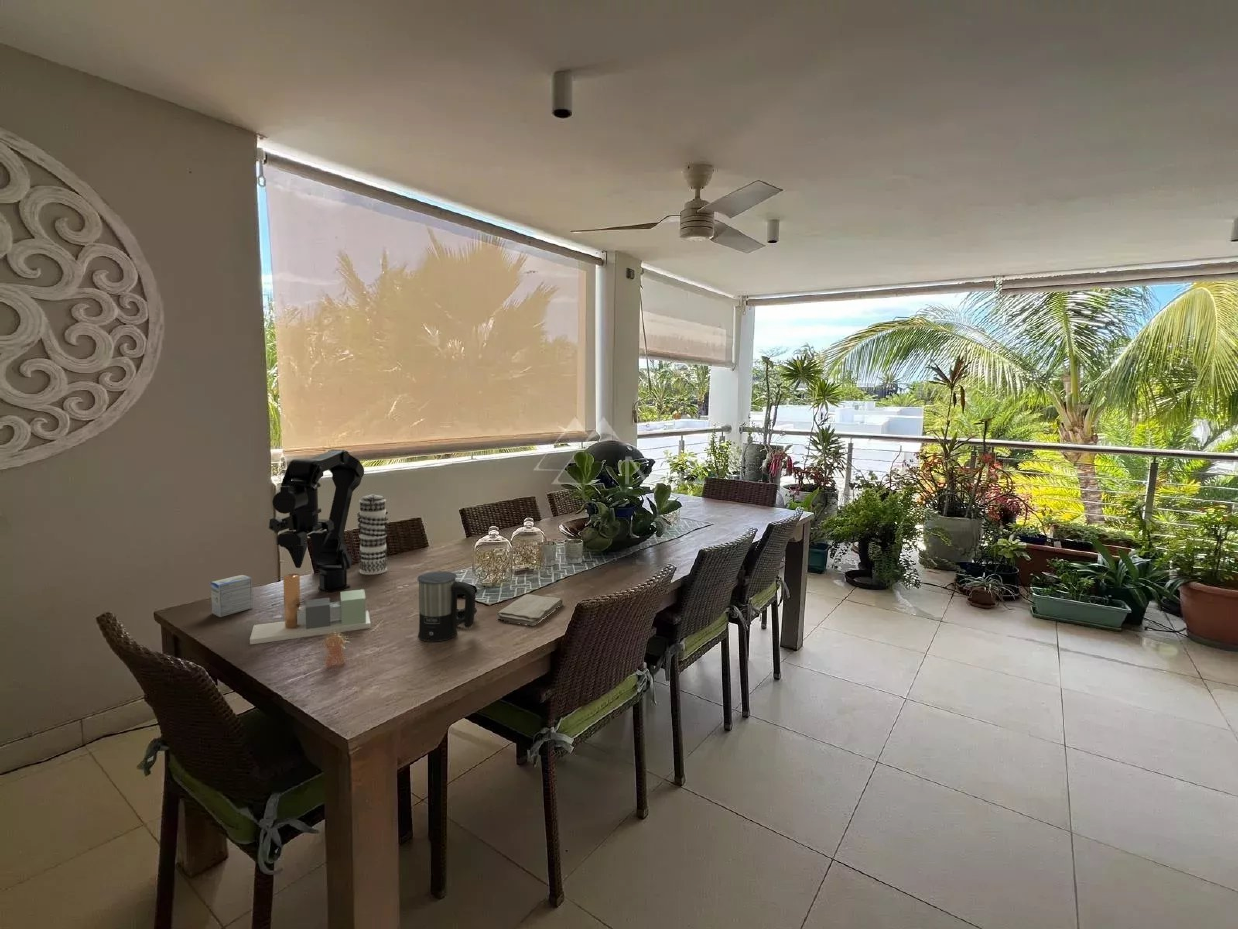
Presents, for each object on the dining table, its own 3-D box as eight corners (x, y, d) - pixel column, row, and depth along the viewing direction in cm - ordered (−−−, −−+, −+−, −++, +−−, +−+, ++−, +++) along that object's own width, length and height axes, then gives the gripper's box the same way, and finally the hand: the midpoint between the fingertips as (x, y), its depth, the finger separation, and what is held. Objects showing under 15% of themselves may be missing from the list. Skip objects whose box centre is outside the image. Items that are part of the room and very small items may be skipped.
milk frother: (415, 644, 134) (415, 583, 133) (420, 618, 149) (420, 563, 148) (477, 639, 138) (478, 580, 136) (476, 615, 153) (477, 561, 151)
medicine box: (244, 605, 154) (243, 574, 153) (253, 608, 152) (251, 577, 151) (211, 614, 147) (210, 581, 146) (220, 618, 145) (218, 585, 144)
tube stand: (249, 644, 131) (248, 617, 130) (254, 629, 139) (253, 603, 138) (370, 627, 142) (370, 602, 142) (368, 615, 150) (367, 591, 149)
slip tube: (284, 628, 136) (282, 578, 135) (285, 623, 139) (283, 574, 138) (356, 619, 143) (355, 571, 142) (355, 614, 146) (355, 567, 145)
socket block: (341, 625, 140) (341, 601, 139) (340, 615, 146) (340, 591, 146) (365, 622, 143) (365, 598, 142) (364, 612, 149) (363, 589, 148)
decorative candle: (359, 567, 190) (358, 493, 187) (389, 565, 193) (388, 493, 190) (356, 575, 181) (355, 498, 178) (387, 574, 184) (386, 498, 181)
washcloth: (494, 622, 150) (495, 611, 150) (526, 600, 167) (526, 590, 167) (535, 629, 146) (536, 618, 146) (563, 606, 163) (563, 595, 163)
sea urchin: (292, 668, 121) (291, 634, 120) (346, 648, 131) (345, 617, 130) (323, 685, 114) (322, 650, 113) (377, 663, 124) (377, 630, 123)
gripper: (294, 498, 161) (295, 552, 163) (253, 512, 143) (256, 572, 144) (334, 500, 161) (335, 553, 163) (298, 513, 143) (300, 573, 145)
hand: (307, 562), depth 154 cm, fingers open, 9 cm apart
